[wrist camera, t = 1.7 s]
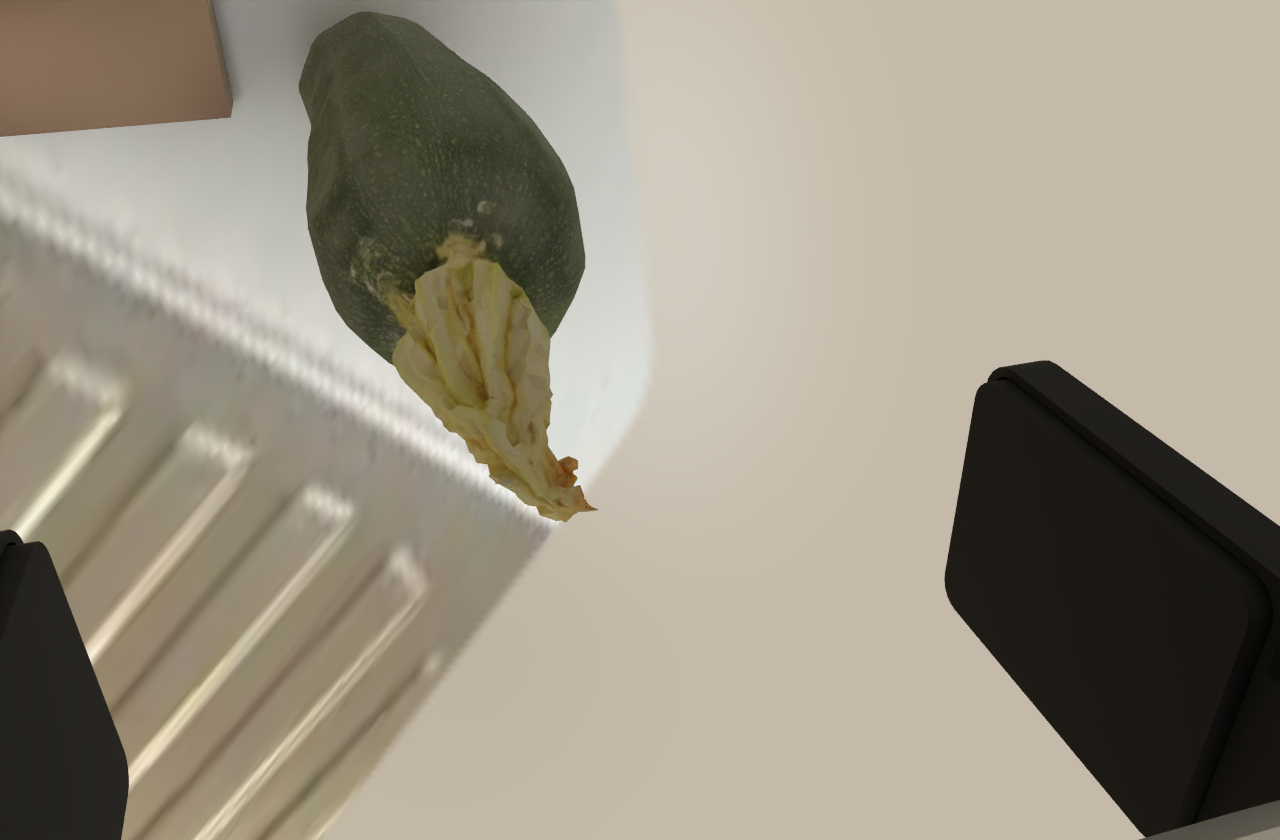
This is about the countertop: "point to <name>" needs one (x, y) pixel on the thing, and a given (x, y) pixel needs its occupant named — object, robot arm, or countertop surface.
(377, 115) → the vegetable
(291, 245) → the countertop surface
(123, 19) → the stand
